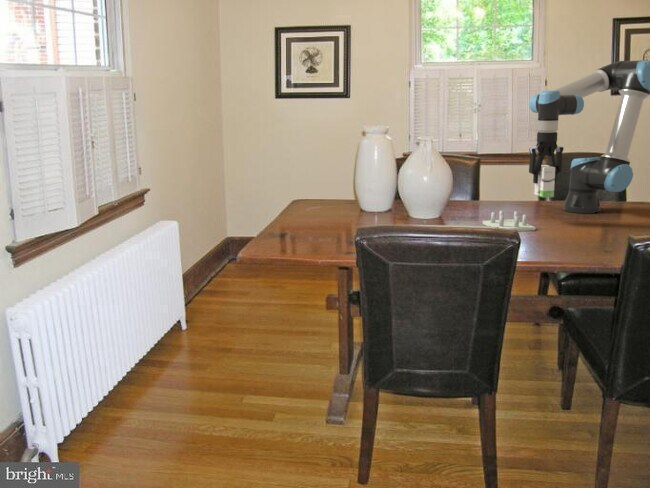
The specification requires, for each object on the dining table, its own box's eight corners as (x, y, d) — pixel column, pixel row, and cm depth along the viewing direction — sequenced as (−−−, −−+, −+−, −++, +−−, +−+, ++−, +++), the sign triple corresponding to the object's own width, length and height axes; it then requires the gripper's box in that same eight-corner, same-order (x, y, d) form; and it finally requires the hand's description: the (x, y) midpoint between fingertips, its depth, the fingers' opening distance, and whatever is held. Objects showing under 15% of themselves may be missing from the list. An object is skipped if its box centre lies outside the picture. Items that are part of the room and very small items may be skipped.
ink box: (554, 197, 272) (556, 167, 270) (542, 197, 272) (543, 167, 269) (545, 193, 281) (547, 164, 278) (533, 194, 280) (535, 164, 277)
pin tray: (515, 222, 280) (515, 209, 279) (535, 230, 265) (536, 216, 264) (482, 223, 277) (483, 210, 276) (501, 231, 262) (502, 218, 261)
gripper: (563, 129, 276) (560, 188, 281) (520, 131, 272) (518, 190, 278) (574, 131, 269) (570, 191, 274) (530, 133, 265) (527, 193, 270)
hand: (544, 190), depth 276 cm, fingers closed on ink box, 5 cm apart
